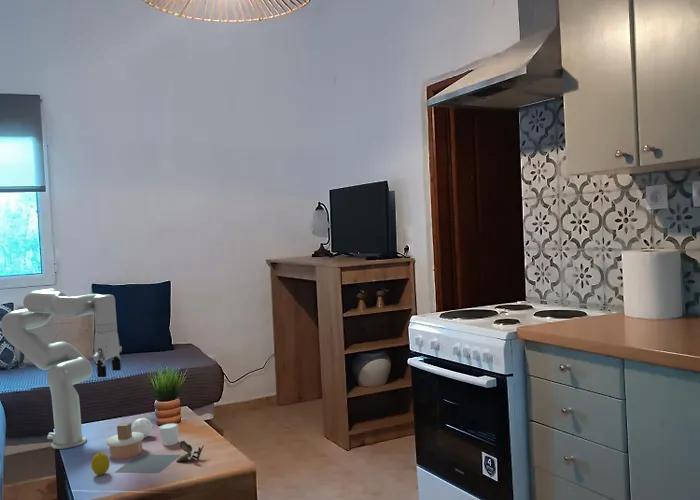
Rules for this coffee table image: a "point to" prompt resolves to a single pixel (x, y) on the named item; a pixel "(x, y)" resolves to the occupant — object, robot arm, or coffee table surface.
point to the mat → (147, 464)
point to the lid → (124, 436)
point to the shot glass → (169, 434)
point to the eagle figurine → (189, 451)
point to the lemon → (100, 463)
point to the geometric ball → (142, 426)
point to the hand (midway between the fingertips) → (109, 373)
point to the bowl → (126, 450)
